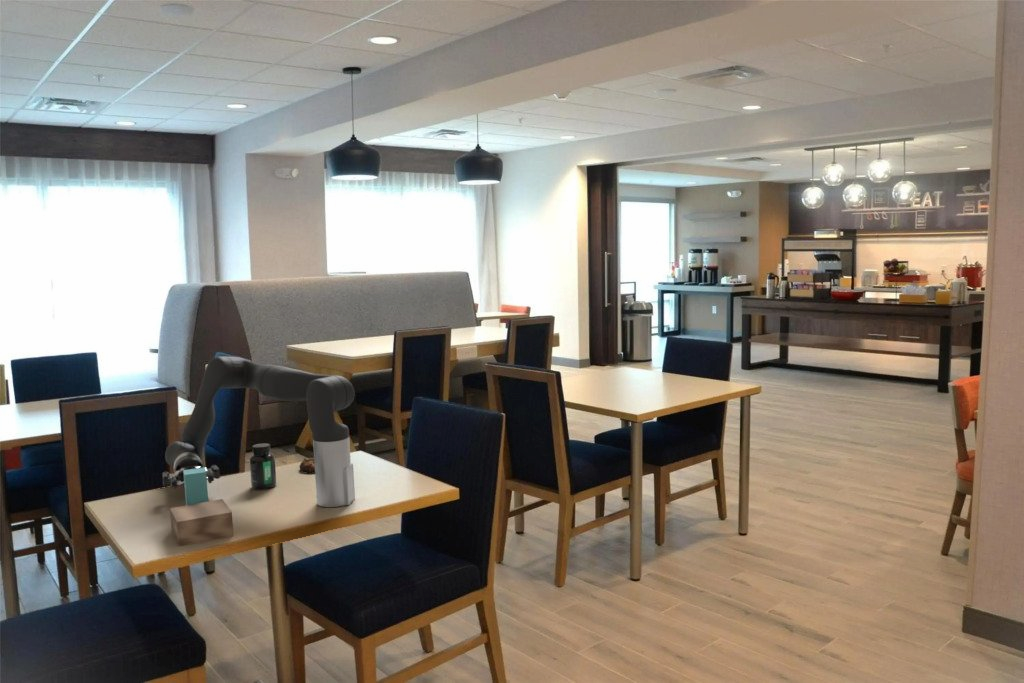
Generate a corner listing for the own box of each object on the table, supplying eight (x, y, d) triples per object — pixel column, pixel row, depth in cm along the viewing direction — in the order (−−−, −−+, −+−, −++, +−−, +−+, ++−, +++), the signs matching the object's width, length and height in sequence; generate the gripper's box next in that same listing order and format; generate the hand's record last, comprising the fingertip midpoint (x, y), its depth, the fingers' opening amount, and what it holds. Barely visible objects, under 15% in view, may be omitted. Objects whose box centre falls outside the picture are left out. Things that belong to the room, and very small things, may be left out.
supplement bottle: (274, 489, 225) (271, 447, 224) (249, 490, 224) (246, 448, 223) (278, 482, 232) (275, 441, 230) (254, 484, 231) (251, 443, 230)
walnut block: (224, 522, 199) (222, 499, 198) (233, 536, 189) (231, 512, 188) (172, 532, 193) (169, 508, 192) (179, 547, 183) (176, 522, 182)
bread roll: (291, 472, 242) (292, 455, 242) (313, 467, 252) (314, 451, 252) (323, 476, 238) (324, 459, 238) (343, 471, 248) (344, 455, 248)
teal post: (207, 512, 206) (204, 467, 205) (209, 518, 202) (206, 471, 200) (186, 516, 204) (183, 470, 203) (188, 522, 199) (184, 474, 198)
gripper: (159, 458, 223) (162, 472, 208) (214, 451, 229) (220, 464, 214) (162, 484, 223) (164, 500, 209) (216, 477, 230) (222, 491, 215)
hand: (193, 481), depth 212 cm, fingers open, 8 cm apart
